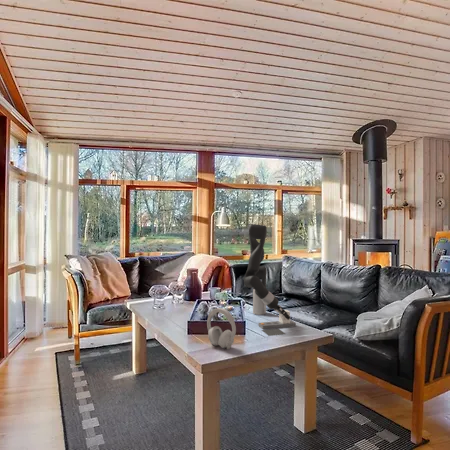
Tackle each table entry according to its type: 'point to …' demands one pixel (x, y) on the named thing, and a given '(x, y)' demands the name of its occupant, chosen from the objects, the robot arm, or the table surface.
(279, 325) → the power strip
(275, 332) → the mat
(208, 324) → the headphones
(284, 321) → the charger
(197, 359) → the table surface
